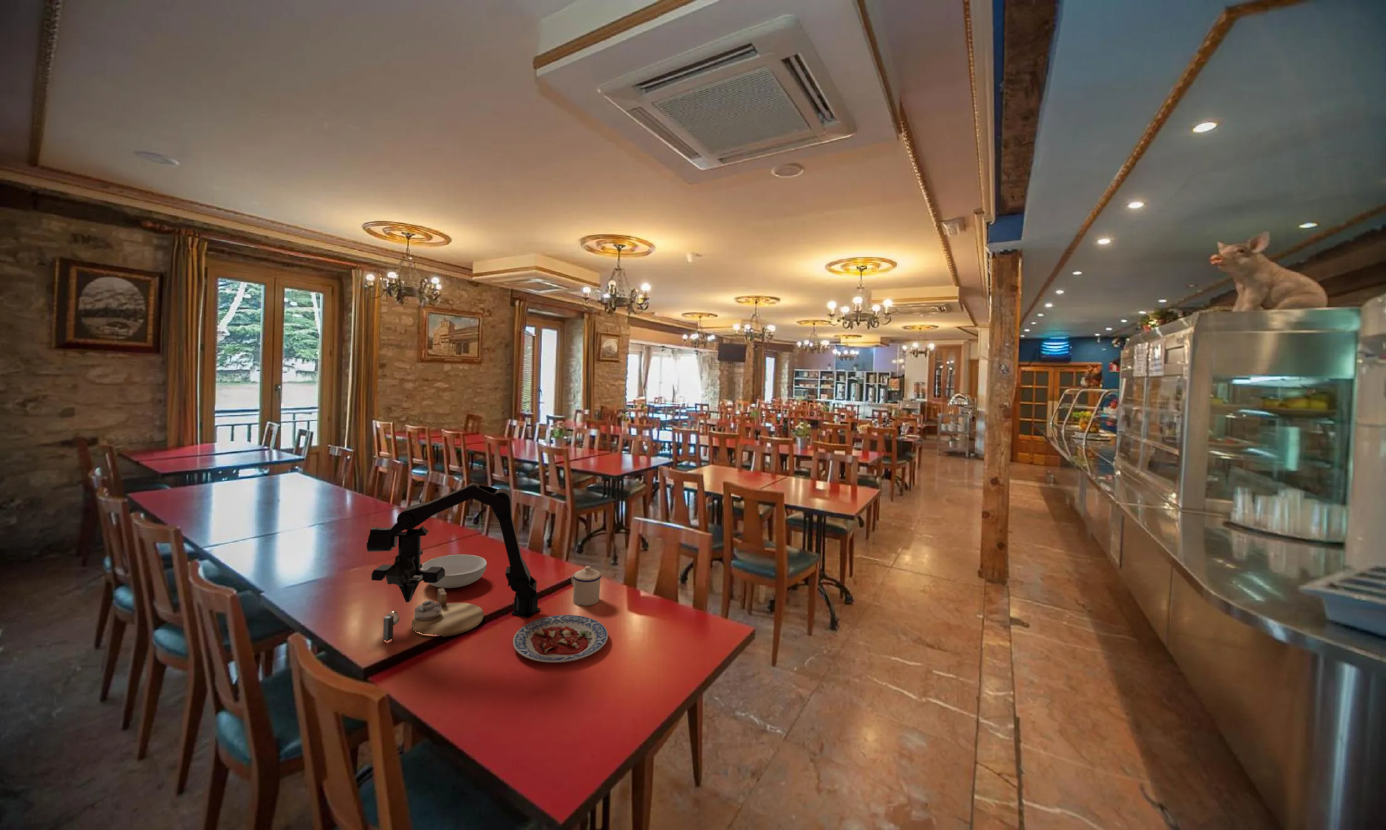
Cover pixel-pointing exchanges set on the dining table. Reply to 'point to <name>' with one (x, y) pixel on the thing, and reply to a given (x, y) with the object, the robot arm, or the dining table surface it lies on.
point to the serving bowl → (457, 569)
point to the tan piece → (451, 618)
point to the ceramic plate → (560, 638)
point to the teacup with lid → (586, 586)
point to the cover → (428, 611)
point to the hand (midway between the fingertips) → (408, 601)
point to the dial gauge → (390, 625)
